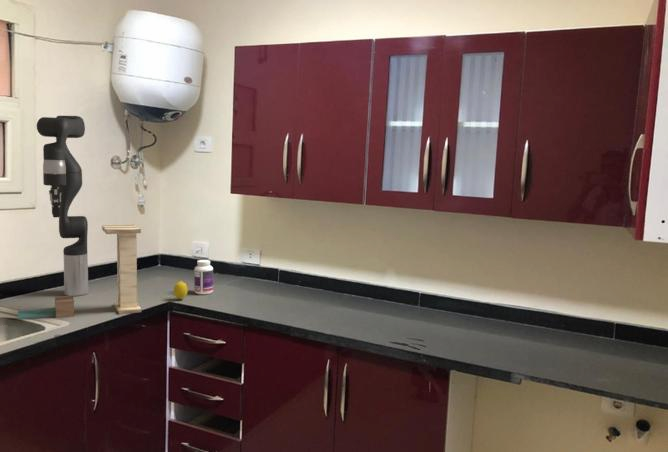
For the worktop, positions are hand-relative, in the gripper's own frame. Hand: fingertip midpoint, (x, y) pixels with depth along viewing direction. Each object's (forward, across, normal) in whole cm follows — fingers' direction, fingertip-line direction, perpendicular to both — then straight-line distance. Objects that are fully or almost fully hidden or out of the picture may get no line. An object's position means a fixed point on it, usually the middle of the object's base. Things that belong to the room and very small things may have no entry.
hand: (55, 216), depth 206 cm
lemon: (+36, 0, +46) cm, 59 cm away
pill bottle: (+36, -8, +58) cm, 69 cm away
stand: (+36, +6, +22) cm, 43 cm away
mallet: (+36, +6, -4) cm, 37 cm away
